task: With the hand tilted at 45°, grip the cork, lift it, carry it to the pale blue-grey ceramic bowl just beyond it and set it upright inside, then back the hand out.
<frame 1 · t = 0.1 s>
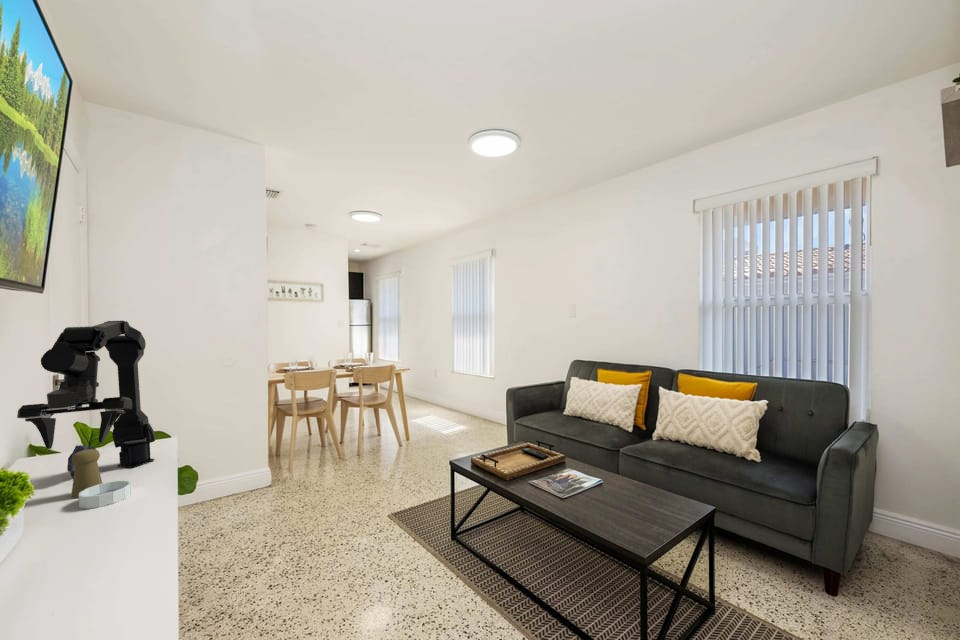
hand: (75, 445, 95), 15 cm above the table, tool pointing down, fingers open, 9 cm apart
stone: (83, 476, 119), on the table
bowl: (106, 499, 102), on the table
cork: (87, 493, 106), on the table
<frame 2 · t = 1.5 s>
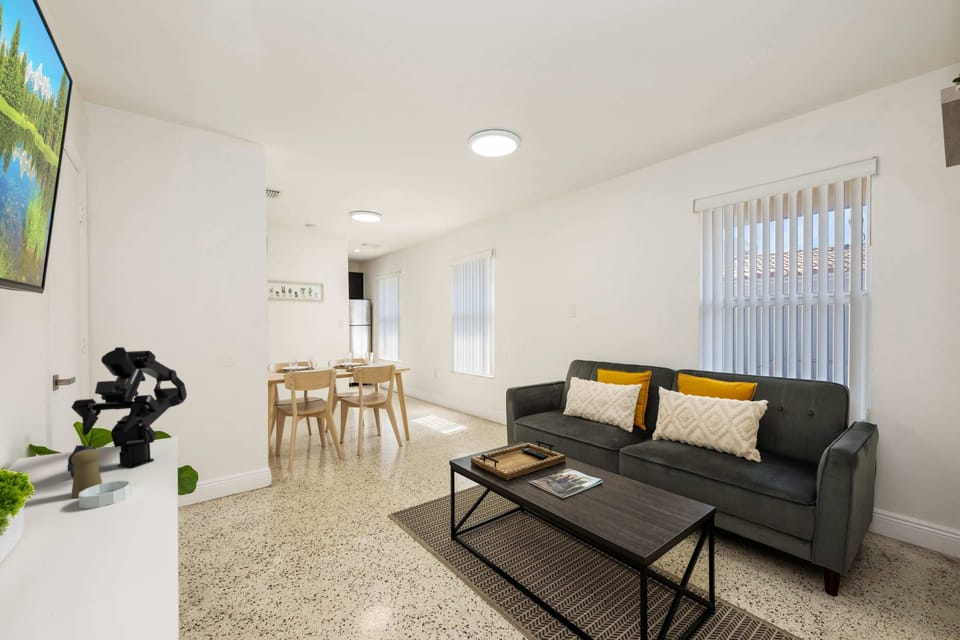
hand: (104, 432, 113), 13 cm above the table, tool tilted 45°, fingers open, 9 cm apart
nothing on the table moved.
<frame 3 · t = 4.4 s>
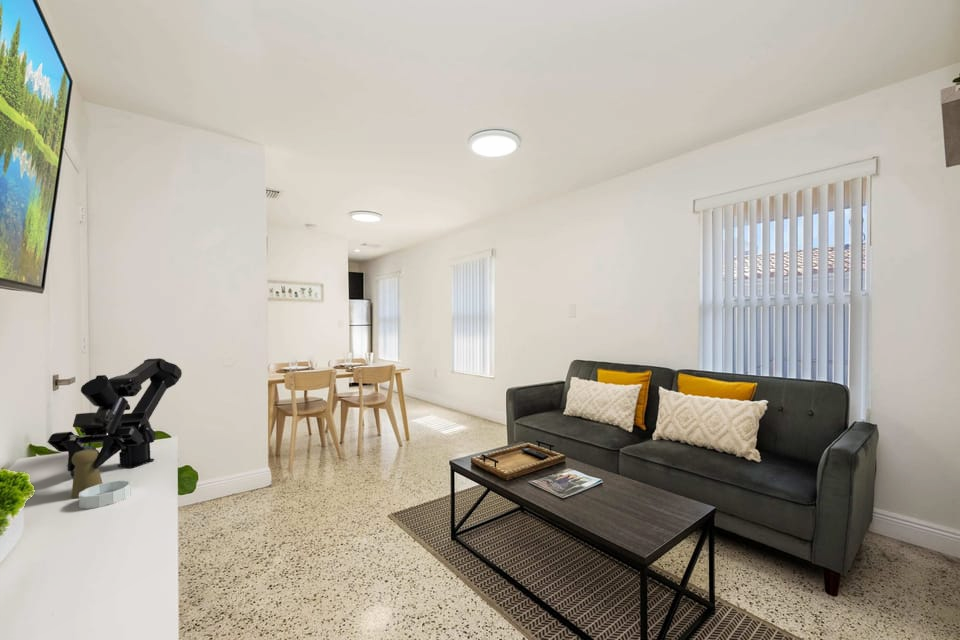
hand: (82, 469, 104), 7 cm above the table, tool tilted 45°, fingers closed on cork, 5 cm apart
cork: (87, 493, 106), on the table, touching gripper
everything else where it was.
when the fingers open (8 cm above the table, at t = 8.1 s): cork stays where it is, resting on bowl.
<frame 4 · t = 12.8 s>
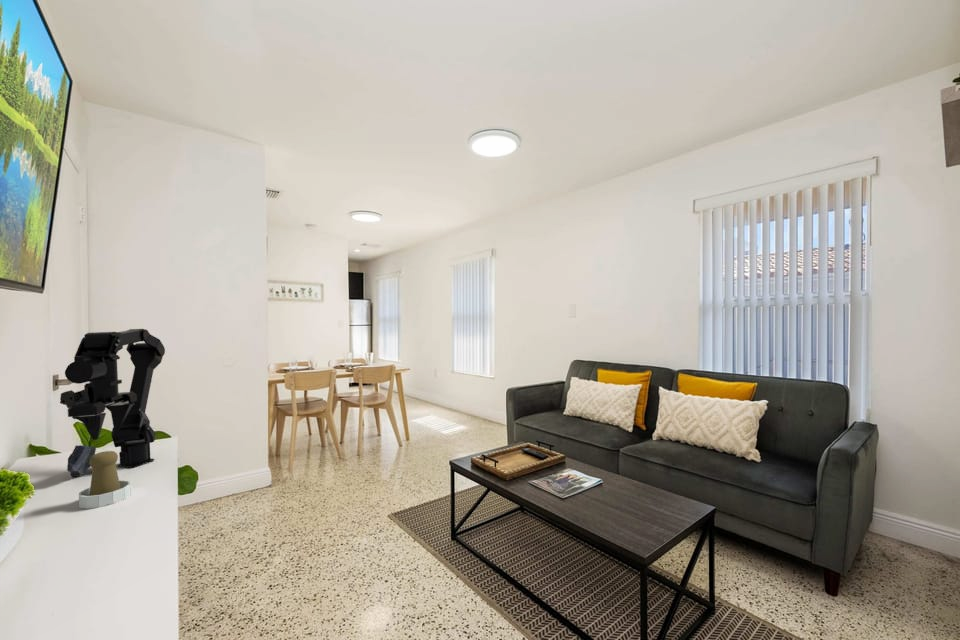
hand: (106, 434, 113), 13 cm above the table, tool pointing down, fingers open, 9 cm apart
cork: (105, 497, 102), resting on bowl
everything else where it was.
at the end: cork 0.2 cm off-centre on the bowl, point 0.4 cm above the bowl's base; cork tilted 0°; the gripper is holding nothing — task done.
